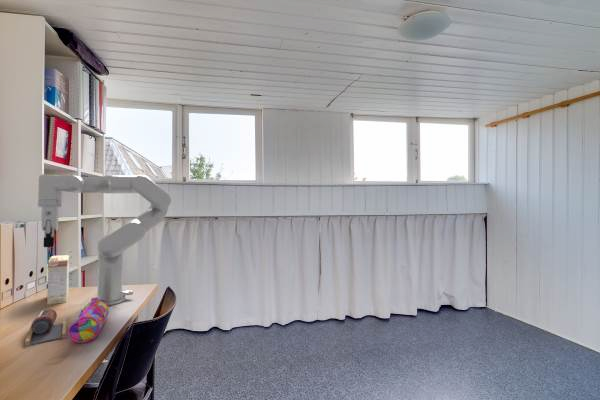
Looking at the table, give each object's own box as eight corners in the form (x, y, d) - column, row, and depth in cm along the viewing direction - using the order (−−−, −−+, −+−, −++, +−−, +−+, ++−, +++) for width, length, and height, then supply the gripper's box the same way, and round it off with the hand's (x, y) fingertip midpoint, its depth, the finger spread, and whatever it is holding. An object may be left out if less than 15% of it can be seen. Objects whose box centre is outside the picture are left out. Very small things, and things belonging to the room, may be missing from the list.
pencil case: (80, 322, 110) (81, 298, 110) (109, 317, 115) (110, 295, 115) (66, 347, 91) (67, 319, 91) (101, 341, 96) (102, 314, 96)
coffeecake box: (50, 295, 139) (51, 255, 139) (68, 293, 143) (69, 254, 143) (46, 305, 127) (47, 261, 127) (66, 302, 131) (68, 259, 131)
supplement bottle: (61, 313, 109) (57, 324, 100) (47, 327, 107) (42, 340, 97) (45, 305, 106) (39, 316, 97) (31, 319, 104) (24, 332, 95)
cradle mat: (66, 323, 108) (66, 319, 108) (65, 337, 97) (65, 333, 97) (30, 330, 102) (30, 326, 102) (25, 346, 91) (25, 341, 91)
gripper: (60, 204, 118) (59, 248, 117) (62, 203, 129) (61, 243, 129) (35, 203, 113) (34, 250, 113) (39, 203, 125) (38, 245, 125)
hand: (48, 246), depth 121 cm, fingers closed
